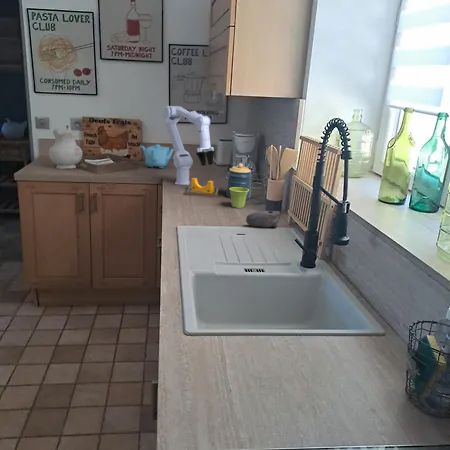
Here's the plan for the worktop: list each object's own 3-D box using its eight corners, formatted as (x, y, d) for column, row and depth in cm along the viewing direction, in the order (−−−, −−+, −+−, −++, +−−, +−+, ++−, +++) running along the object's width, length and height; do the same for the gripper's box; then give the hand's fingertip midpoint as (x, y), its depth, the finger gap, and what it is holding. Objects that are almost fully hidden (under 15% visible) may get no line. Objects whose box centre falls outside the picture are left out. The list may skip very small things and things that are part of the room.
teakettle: (162, 163, 319) (162, 142, 314) (177, 168, 305) (177, 146, 300) (137, 165, 308) (137, 143, 303) (151, 170, 294) (151, 147, 289)
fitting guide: (188, 188, 256) (188, 185, 255) (219, 190, 255) (219, 187, 255) (185, 194, 241) (185, 192, 240) (217, 197, 241) (218, 194, 240)
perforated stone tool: (246, 227, 195) (247, 212, 193) (244, 224, 200) (245, 208, 198) (281, 229, 196) (283, 213, 194) (279, 225, 201) (280, 210, 199)
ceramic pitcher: (51, 165, 296) (46, 125, 287) (83, 163, 301) (79, 123, 293) (50, 172, 276) (44, 129, 268) (84, 169, 282) (79, 128, 273)
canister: (231, 200, 237) (233, 165, 231) (222, 193, 248) (224, 161, 243) (254, 199, 241) (257, 165, 236) (244, 193, 253) (247, 160, 248)
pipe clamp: (214, 192, 251) (215, 180, 249) (210, 193, 247) (211, 182, 245) (195, 188, 256) (195, 177, 254) (191, 190, 252) (191, 178, 250)
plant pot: (225, 204, 228) (226, 187, 226) (243, 203, 232) (244, 186, 229) (232, 209, 220) (233, 191, 217) (250, 208, 223) (252, 191, 221)
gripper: (204, 138, 238) (207, 165, 240) (217, 138, 251) (219, 163, 253) (192, 140, 241) (195, 166, 243) (206, 139, 254) (208, 164, 256)
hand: (207, 165), depth 248 cm, fingers open, 7 cm apart
